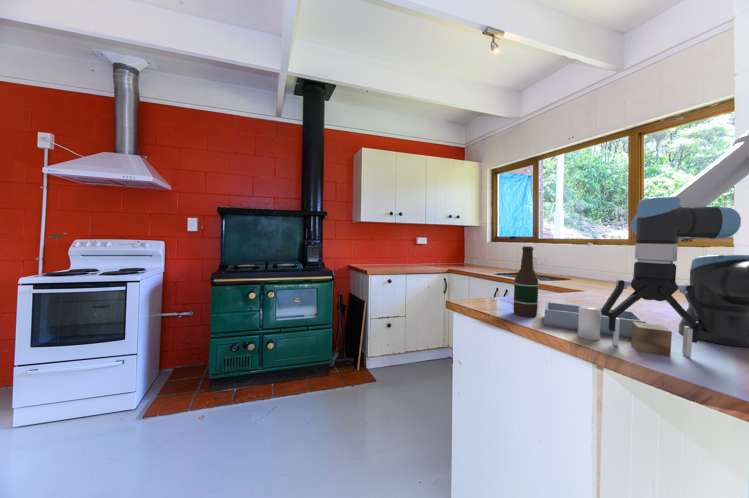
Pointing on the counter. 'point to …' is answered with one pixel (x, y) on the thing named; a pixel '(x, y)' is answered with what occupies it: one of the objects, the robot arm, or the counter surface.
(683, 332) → the robot arm
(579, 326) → the ceramic canister
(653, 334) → the walnut cube
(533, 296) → the beer bottle
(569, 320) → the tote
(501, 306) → the counter surface
